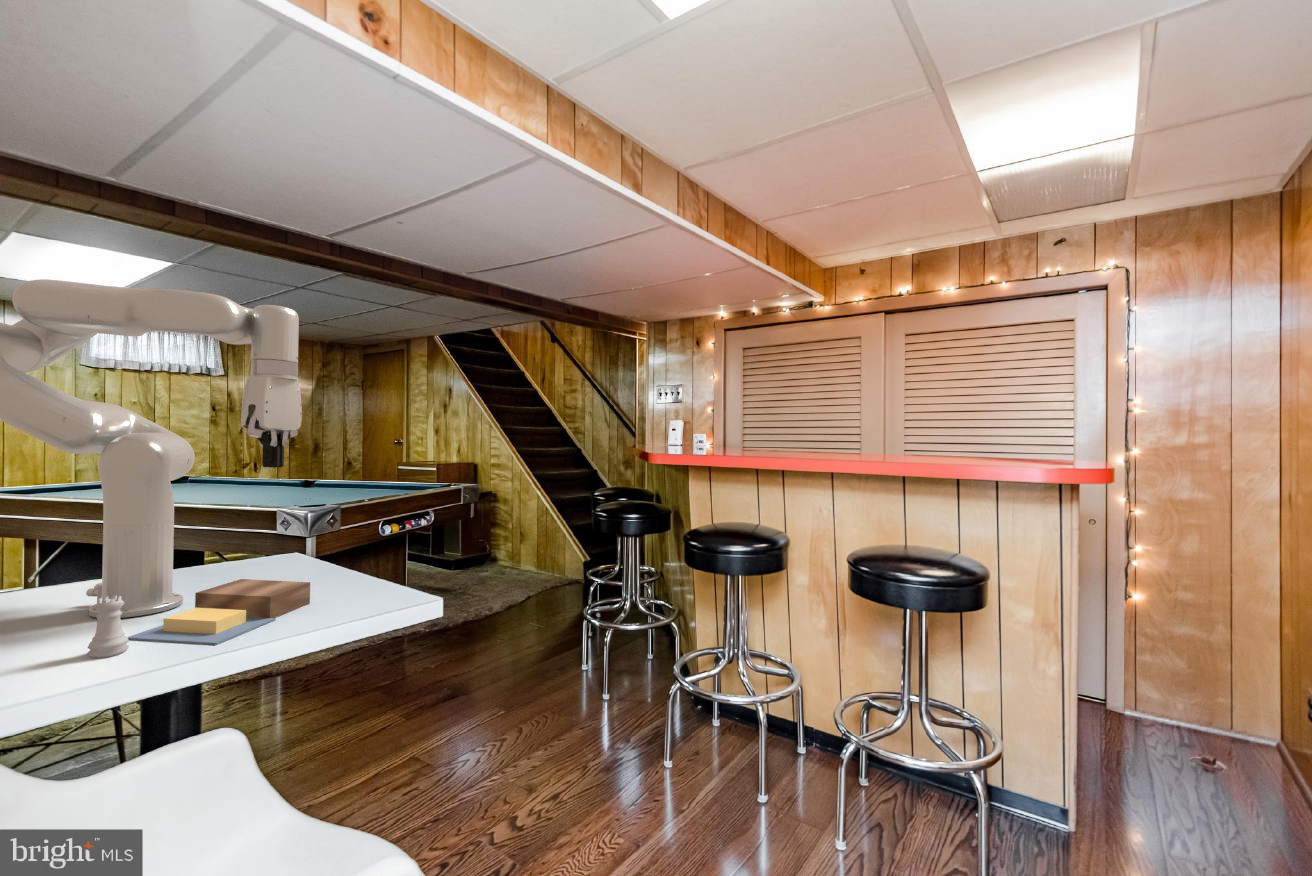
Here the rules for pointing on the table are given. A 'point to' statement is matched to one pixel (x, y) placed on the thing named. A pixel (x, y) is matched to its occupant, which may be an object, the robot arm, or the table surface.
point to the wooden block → (256, 597)
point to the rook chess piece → (108, 629)
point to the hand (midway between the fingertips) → (273, 466)
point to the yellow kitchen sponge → (204, 620)
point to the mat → (201, 638)
